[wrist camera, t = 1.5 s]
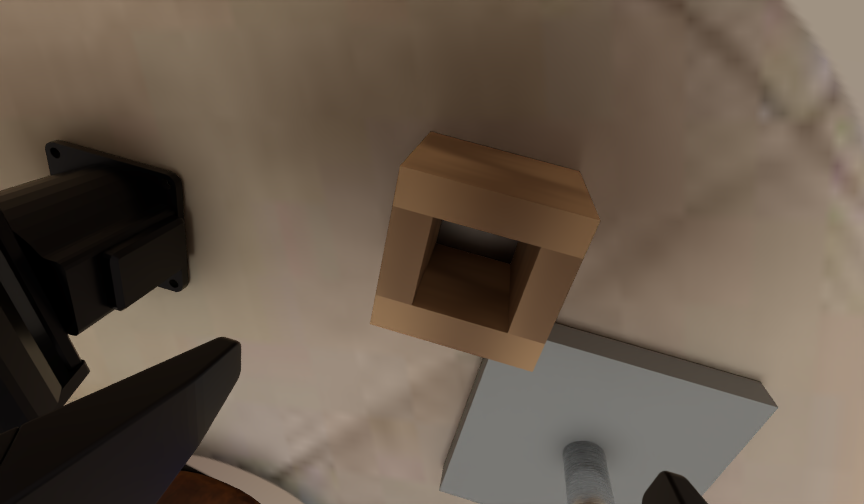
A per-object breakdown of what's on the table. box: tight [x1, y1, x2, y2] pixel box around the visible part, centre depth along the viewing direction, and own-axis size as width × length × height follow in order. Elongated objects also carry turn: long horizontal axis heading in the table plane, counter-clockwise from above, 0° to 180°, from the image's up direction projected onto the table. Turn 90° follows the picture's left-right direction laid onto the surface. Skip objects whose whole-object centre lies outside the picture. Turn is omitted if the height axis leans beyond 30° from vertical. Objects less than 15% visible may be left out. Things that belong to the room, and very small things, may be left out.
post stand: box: [439, 323, 778, 504], centre depth 20 cm, size 12×12×7 cm
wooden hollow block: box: [370, 132, 600, 372], centre depth 16 cm, size 6×6×5 cm
